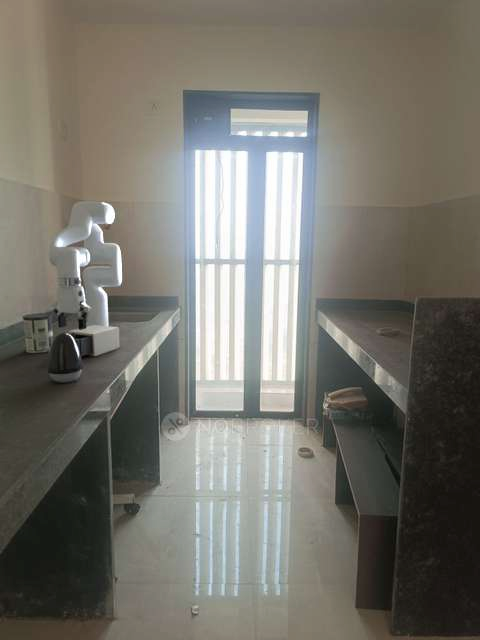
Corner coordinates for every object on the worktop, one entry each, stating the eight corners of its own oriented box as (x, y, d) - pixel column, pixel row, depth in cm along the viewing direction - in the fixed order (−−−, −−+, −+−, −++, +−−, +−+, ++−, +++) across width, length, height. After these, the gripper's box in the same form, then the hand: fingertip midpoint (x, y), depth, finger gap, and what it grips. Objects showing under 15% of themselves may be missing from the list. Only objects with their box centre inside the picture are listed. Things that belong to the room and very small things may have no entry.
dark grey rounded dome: (90, 377, 133) (88, 330, 130) (67, 387, 124) (64, 337, 121) (65, 373, 136) (62, 328, 134) (40, 383, 127) (36, 334, 124)
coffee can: (41, 345, 173) (39, 312, 170) (59, 348, 169) (57, 314, 166) (19, 351, 164) (16, 316, 161) (38, 354, 159) (35, 318, 157)
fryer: (94, 356, 158) (93, 334, 156) (69, 352, 162) (67, 331, 161) (119, 347, 171) (118, 327, 169) (95, 344, 176) (94, 324, 174)
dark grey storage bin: (65, 362, 145) (64, 344, 144) (41, 359, 150) (40, 340, 149) (103, 350, 163) (102, 333, 162) (81, 347, 167) (80, 330, 166)
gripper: (95, 282, 152) (97, 328, 155) (59, 280, 158) (62, 324, 162) (80, 284, 145) (83, 332, 148) (43, 282, 151) (47, 327, 155)
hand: (72, 328), depth 155 cm, fingers open, 9 cm apart
